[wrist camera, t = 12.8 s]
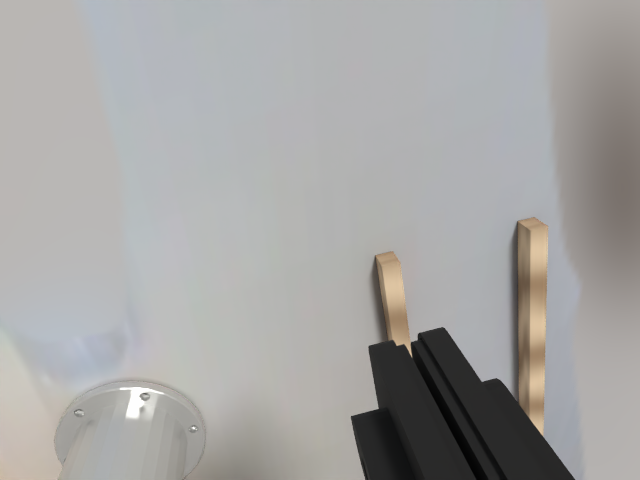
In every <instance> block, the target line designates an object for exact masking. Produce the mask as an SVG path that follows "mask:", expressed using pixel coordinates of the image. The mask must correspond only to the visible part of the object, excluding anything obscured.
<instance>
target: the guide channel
mask: <svg viewBox="0 0 640 480" xmlns="http://www.w3.org/2000/svg"><path fill="white" fill-rule="evenodd" d="M547 250H548V226H547V225H545V224H544V223H542V222H541V221H539V220H538V219H536V218H535V217H533V218H529V219H525V220H521V221H518V341H519V405H520V406H521V408H522V409H523V410H524V412H525V413H526V414H527V416H528V417H529V418H530V420H531V421H532V422H533V424H534V425H535V426H536V428H537V429H538V430H539V432H540V433H541V435H542V436H543V425H544V381H545V337H546V294H547ZM375 256H376V263H377V270H378V276H379V283H380V289H381V296H382V303H383V309H384V316H385V323H386V329H387V336H388V341H390V340H394V342H395V343H396V345H397V346H398V345H402V344H405V346H406V347H407V349H408V351H409V353H410V355H411V357H412V353H411V344H410V336H409V328H408V320H407V313H406V305H405V297H404V289H403V281H402V273H401V265H400V261H399V260H398V258H397V257H396V255H395V254H394V252H393V251H392V252H388V253H384V254H379V255H375Z"/></svg>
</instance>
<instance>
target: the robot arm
mask: <svg viewBox="0 0 640 480" xmlns="http://www.w3.org/2000/svg"><path fill="white" fill-rule="evenodd" d="M411 353H412V357H411V355H410V353H409V351H408V349H407V347H406V346H405V344H402V345H398V346H397V345H396V343H395V342H394V340H390V341H386V342H382V343H378V344H374V345H370V346H369V355H370V361H371V366H372V372H373V378H374V384H375V389H376V395H377V401H378V407H379V409H377V410H373V411H369V412H366V413H362V414H358V415H354V416H351V420H352V425H353V430H354V435H355V440H356V444H357V449H358V453H359V457H360V461H361V465H362V469H363V473H364V476H365V480H575V479H574V478H573V476H572V475H571V474H570V472H569V471H568V470H567V468H566V467H565V466H564V464H563V463H562V461H561V460H560V459H559V457H558V456H557V455H556V453H555V452H554V451H553V449H552V448H551V447H550V445H549V444H548V443H547V441H546V440H545V439H544V437H543V436H542V435H541V433H540V432H539V430H538V429H537V428H536V426H535V425H534V424H533V422H532V421H531V420H530V418H529V417H528V416H527V414H526V413H525V412H524V410H523V409H522V408H521V406H520V405H519V404H518V402H517V401H516V400H515V398H514V397H513V395H512V394H511V393H510V391H509V390H508V389H507V387H506V386H505V385H504V384H503V383H502V382H501V381H500V380H499V379H497V378H496V379H492V380H488V381H484V382H481V380H480V379H479V377H478V376H477V374H476V373H475V371H474V370H473V368H472V367H471V365H470V364H469V363H468V361H467V360H466V358H465V357H464V355H463V354H462V352H461V351H460V349H459V348H458V347H457V345H456V344H455V342H454V341H453V339H452V338H451V336H450V335H449V333H448V332H447V331H446V329H445V328H443V327H441V328H437V329H433V330H429V331H426V332H422V333H419V334H418V341H414V342H411ZM205 434H206V431H205V426H204V421H203V419H202V417H201V415H200V413H199V411H198V410H197V409H196V407H195V406H194V405H193V404H192V403H191V402H190V401H189V400H188V399H187V398H185V397H184V396H183V395H181V394H179V393H178V392H176V391H174V390H172V389H170V388H167V387H164V386H161V385H159V384H154V383H148V382H139V381H125V382H115V383H111V384H107V385H103V386H100V387H97V388H95V389H93V390H90V391H88V392H86V393H85V394H83V395H82V396H80V397H79V398H77V399H76V400H75V401H74V402H73V403H72V404H71V405H70V406H69V407H68V408H67V410H66V411H65V413H64V414H63V416H62V417H61V420H60V422H59V424H58V427H57V429H56V434H55V439H54V443H55V451H56V454H57V457H58V460H59V461H60V463H61V464H62V466H63V468H62V470H61V473H60V475H59V478H58V480H183V478H185V477H186V476H187V475H188V474H189V473H190V472H191V471H192V470H193V469H194V468H195V466H196V465H197V464H198V463H199V461H200V459H201V456H202V454H203V451H204V446H205Z"/></svg>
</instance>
